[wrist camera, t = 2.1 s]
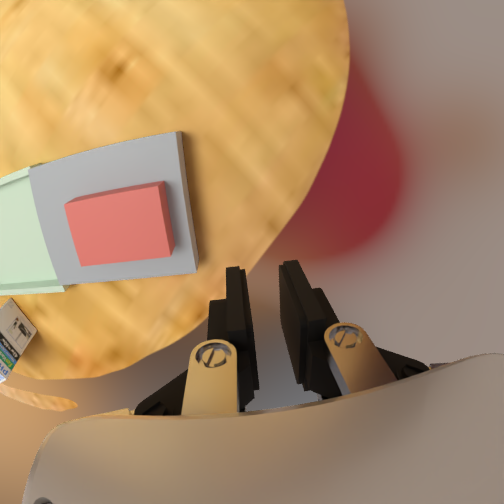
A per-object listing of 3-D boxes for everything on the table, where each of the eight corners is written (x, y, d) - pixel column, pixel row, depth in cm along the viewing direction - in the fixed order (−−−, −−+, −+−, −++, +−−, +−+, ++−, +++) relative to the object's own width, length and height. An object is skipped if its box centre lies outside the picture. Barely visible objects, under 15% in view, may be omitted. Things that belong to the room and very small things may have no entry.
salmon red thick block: (75, 197, 23) (63, 204, 20) (164, 180, 23) (157, 186, 21) (90, 255, 25) (81, 266, 23) (175, 245, 25) (170, 256, 23)
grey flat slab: (43, 164, 23) (27, 169, 21) (181, 131, 24) (175, 131, 21) (70, 272, 29) (59, 285, 26) (199, 258, 29) (196, 272, 27)
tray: (-33, 194, 22) (-43, 198, 20) (41, 162, 23) (29, 166, 21) (-4, 288, 29) (-12, 295, 27) (72, 282, 29) (64, 291, 27)
